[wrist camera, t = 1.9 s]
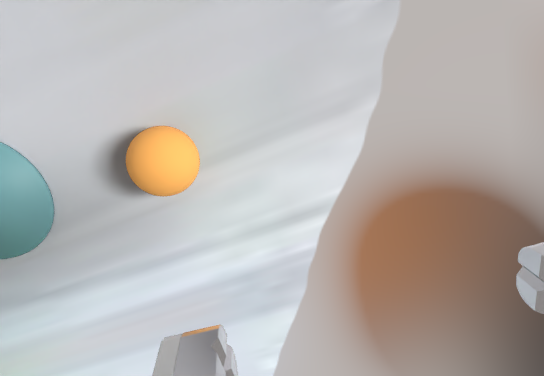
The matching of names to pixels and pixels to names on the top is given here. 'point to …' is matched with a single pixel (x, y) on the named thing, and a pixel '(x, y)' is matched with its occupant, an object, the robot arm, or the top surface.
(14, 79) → the top surface
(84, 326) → the top surface
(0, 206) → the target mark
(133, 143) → the ball
